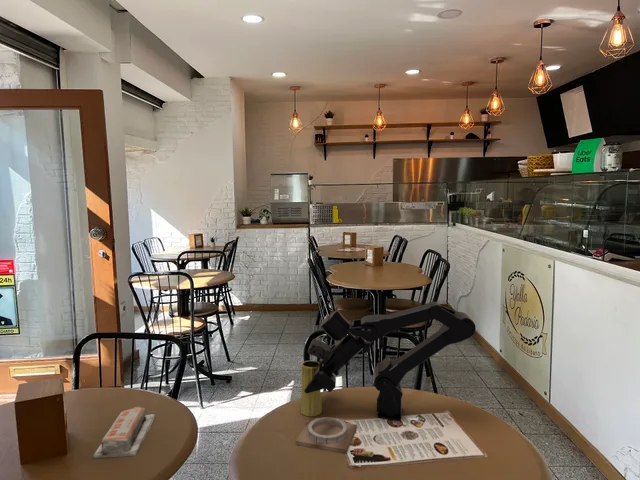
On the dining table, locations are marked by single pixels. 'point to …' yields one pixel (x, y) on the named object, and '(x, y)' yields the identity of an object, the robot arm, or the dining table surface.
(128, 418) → the packaged product
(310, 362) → the vase
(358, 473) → the dining table surface
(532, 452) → the dining table surface
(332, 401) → the dining table surface
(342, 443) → the socket board
